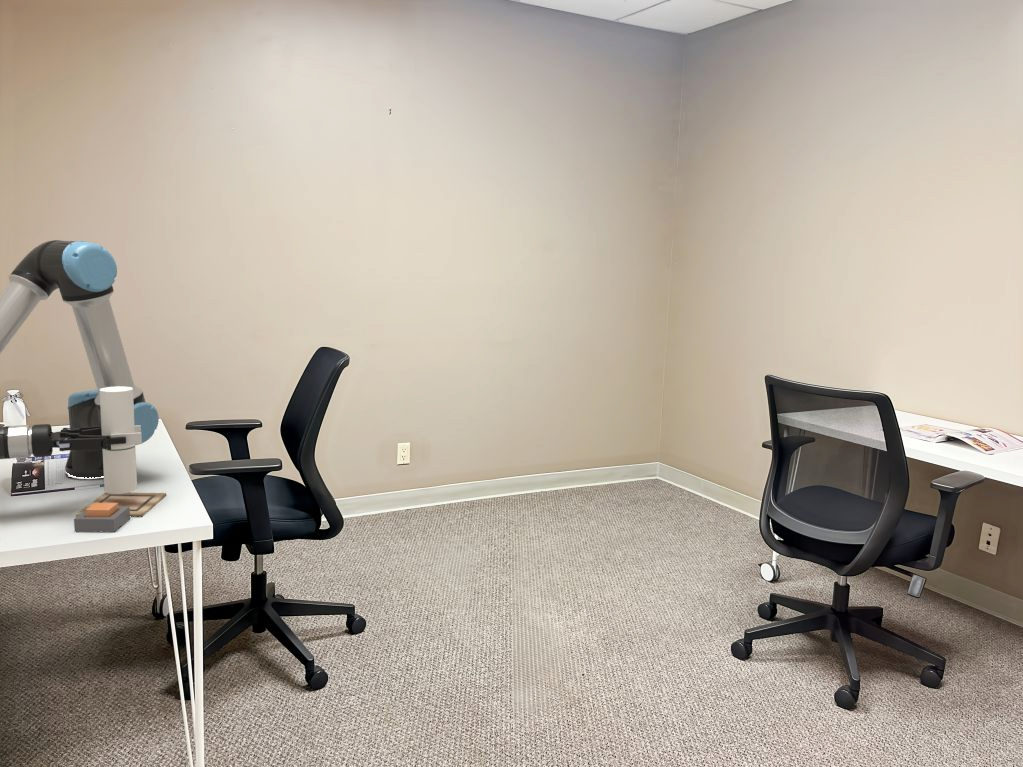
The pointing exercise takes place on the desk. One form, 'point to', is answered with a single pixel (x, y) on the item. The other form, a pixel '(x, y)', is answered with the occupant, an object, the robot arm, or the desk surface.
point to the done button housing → (102, 521)
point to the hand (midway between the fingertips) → (141, 434)
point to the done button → (102, 510)
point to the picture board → (130, 501)
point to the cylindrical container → (123, 457)
